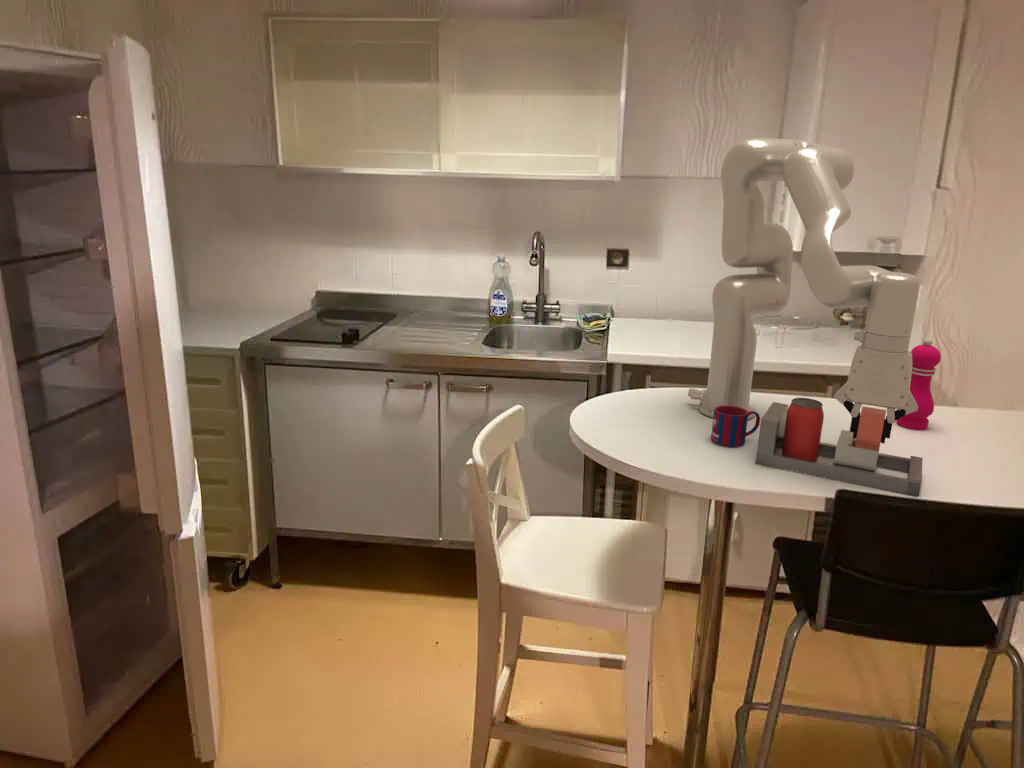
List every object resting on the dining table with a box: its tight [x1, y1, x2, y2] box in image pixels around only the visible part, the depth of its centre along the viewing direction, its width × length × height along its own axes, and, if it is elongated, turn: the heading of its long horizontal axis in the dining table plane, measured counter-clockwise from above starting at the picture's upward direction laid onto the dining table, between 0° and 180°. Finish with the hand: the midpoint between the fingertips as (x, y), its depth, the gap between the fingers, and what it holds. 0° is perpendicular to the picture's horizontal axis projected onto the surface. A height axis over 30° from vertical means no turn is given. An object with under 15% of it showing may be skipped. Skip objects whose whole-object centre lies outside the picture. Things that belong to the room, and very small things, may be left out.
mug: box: [710, 405, 761, 448], centre depth 157 cm, size 7×10×7 cm
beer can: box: [780, 397, 825, 462], centre depth 147 cm, size 7×7×12 cm
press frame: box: [754, 401, 924, 497], centre depth 144 cm, size 28×12×9 cm, turn 62°
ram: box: [833, 405, 887, 473], centre depth 143 cm, size 7×9×12 cm
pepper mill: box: [896, 337, 941, 431], centre depth 168 cm, size 7×7×20 cm
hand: (869, 437), depth 142 cm, fingers closed on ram, 4 cm apart
